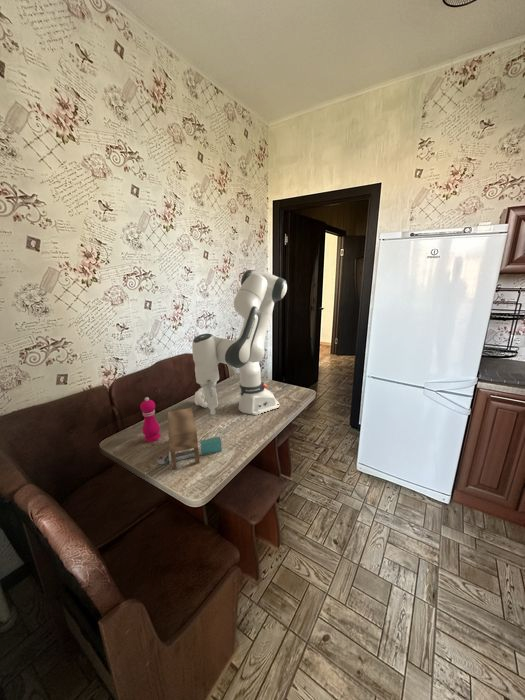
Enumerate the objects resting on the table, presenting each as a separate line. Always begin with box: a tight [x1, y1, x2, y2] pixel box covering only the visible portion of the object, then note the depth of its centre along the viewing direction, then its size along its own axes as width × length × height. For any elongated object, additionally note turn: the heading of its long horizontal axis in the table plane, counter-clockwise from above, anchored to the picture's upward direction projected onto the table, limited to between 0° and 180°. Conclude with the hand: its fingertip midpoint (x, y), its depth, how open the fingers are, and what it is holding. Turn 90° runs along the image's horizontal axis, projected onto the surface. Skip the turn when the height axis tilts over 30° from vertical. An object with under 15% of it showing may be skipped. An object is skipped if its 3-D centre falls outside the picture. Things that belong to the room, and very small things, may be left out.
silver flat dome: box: [156, 455, 169, 466], centre depth 109 cm, size 4×4×1 cm
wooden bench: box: [167, 407, 201, 470], centre depth 113 cm, size 10×20×14 cm, turn 19°
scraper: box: [168, 436, 223, 466], centre depth 112 cm, size 20×6×5 cm, turn 109°
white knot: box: [194, 387, 208, 409], centre depth 155 cm, size 11×12×9 cm
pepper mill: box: [140, 396, 161, 443], centre depth 122 cm, size 7×7×20 cm
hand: (211, 408), depth 111 cm, fingers open, 8 cm apart
